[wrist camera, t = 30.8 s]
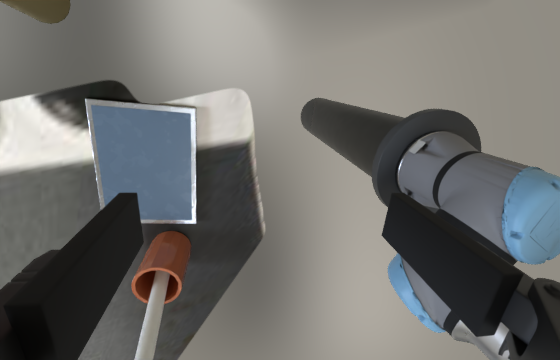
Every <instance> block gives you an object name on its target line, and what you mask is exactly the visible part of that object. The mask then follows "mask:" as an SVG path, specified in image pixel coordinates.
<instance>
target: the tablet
mask: <svg viewBox="0 0 560 360" xmlns="http://www.w3.org/2000/svg"><path fill="white" fill-rule="evenodd" d="M85 101H86V108H87V115H88V122H89V129H90V136H91V143H92V150H93V157H94V164H95V171H96V178H97V185H98V192H99V198H100V205H101V210H102V209H103V208H104V207H105V206H106V205H107V204H108V203H109V202H110V201H111V200H112V199H113V198H114V197H115V196H116V195H117V194H118V193H137V196H138V204H139V211H140V219H141V223H170V224H196V222H197V142H196V108H192V107H181V106H170V105H158V104H147V103H136V102H125V101H114V100H102V99H91V98H87V99H85Z"/></svg>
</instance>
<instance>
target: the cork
mask: <svg viewBox="0 0 560 360" xmlns="http://www.w3.org/2000/svg"><path fill="white" fill-rule="evenodd" d="M0 2H2V3H5V4H6V5H8V6H10V7H12V8H14V9H16V10H19V11H21V12H22V13H24V14H27V15H28V16H30V17H32V18H34V19H36V20H39V21H41V22H44V23H50V24H52V23H58V22H60V21H62V20H63V19H65V18H66V16H67V15H68V13H69V9H70V0H0Z"/></svg>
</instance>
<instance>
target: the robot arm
mask: <svg viewBox="0 0 560 360" xmlns="http://www.w3.org/2000/svg"><path fill="white" fill-rule="evenodd" d="M395 181H396V185H397V188H398V190H399V191H400V193H392V194H391V198H390V202H389V207H388V212H387V215H386V220H385V224H384V228H383V233H382V236H383V237H384V238H385V239H386V241H387V242H388V243H389V244H390V245H391V246H392V247H393V248H394V249H395V250H396V251H397V253H398V254H397V255H396V256H395V257H394V258H393V260H392V261H391V262H390V264H389V266H388V275H389V279H390V282H391V284H392V286H393V288H394V289H395V291H396V292H397V294H398V296H399V297H400V298H401V300H402V301H403V302H404V304H405V305H406V306H407V308H408V309H409V310H410V311H411V312H412V313H413V314H414V315H415V316H417V317H418V318H419V320H420V321H421V322H422V323H423V324H424V325H425V326H426V327H428V328H429V329H430V330H432V331H434V332H438V333H441V332H445V331H447V332H448V333H449V334H450V335H451V336H452V337H453V338H454V339H455V340H457V341H463V342H467V343H472V344H474V345H476V346H477V347H478V348H479V349H480V350H481V351H482V352H483V353H484V354H485V355H486V356H487V357H488V358H489V359H490V360H560V283H559V282H556V281H554V280H549V279H545V278H537V279H535V280H534V279H532V278H531V277H529V276H528V275H526V274H525V273H523V272H522V271H521V270H519V269H517V268H516V267H515V266H513V265H514V264H515V263H516V262H517V261H520V262H523V263H528V264H541V263H544V262H545V261H546V260H551V259H553V258H554V257H556V256H557V255H558V254H560V177H558V176H556V175H553V174H550V173H547V172H545V171H544V170H542V169H540V168H538V167H530V166H527V165H523V164H520V163H516V162H513V161H509V160H506V159H502V158H499V157H495V156H492V155H489V154H485V153H482V152H479V151H478V150H477V149H475V148H474V147H473V146H472V145H470V144H469V143H468V142H467V141H466V140H464V139H463V138H462V137H460V136H458V135H456V134H454V133H451V132H447V131H431V132H428V133H425V134H423V135H421V136H419V137H418V138H416V139H415V140H413V141H412V142H411V143H410V144H409V145H408V146H407V147H406V148H405V150H404V151H403V153H402V154H401V156H400V158H399V160H398V163H397V166H396V171H395ZM425 206H428V207H433V208H438V210H437V211H436V213H433V212H432V211H431V210H429V209H428V208H426V207H425ZM143 243H144V241H143V234H142V226H141V219H140V211H139V204H138V196H137V193H118V194H117V195H116V196H115V197H114V198H113V199H112V200H111V201H110V202H109V203H108V204H107V205H106V206H105V207H104V208H103V209H102V210H101V211H100V212H99V213H98V214H97V215H96V216H95V217H94V218H93V219H92V220H91V221H90V222H89V223H88V224H87V225H86V226H85V227H83V228H82V229H81V230H80V231H79V232H78V233H77V234H76V235H75V236H74V237H73V238H72V239H71V240H70V241H69V242H68V243H67V244H66V245H65V246H64V247H63V248H62V249H61V250H50V251H49V252H47V253H45V254H43V255H41V256H40V257H38V258H36V259H34V260H33V261H32V262H31V263H30V264H29V265H27V266H26V267H25V268H24V269H23V270H22V272H21V273H19V274H17V275H16V276H15V277H14V278H13V279H12V280H11V282H10V283H7V284H6V285H5V286H4V287H3V288H2V289H1V290H0V360H78V358H79V356H80V354H81V352H82V351H83V349H84V347H85V345H86V344H87V342H88V340H89V338H90V337H91V335H92V333H93V331H94V329H95V328H96V326H97V324H98V322H99V321H100V319H101V317H102V315H103V314H104V312H105V310H106V308H107V306H108V305H109V303H110V301H111V299H112V298H113V296H114V294H115V292H116V291H117V289H118V287H119V285H120V283H121V282H122V280H123V278H124V276H125V275H126V273H127V271H128V269H129V268H130V266H131V264H132V262H133V260H134V259H135V257H136V255H137V253H138V252H139V250H140V248H141V246H142V245H143Z"/></svg>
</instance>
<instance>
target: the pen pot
mask: <svg viewBox="0 0 560 360" xmlns="http://www.w3.org/2000/svg"><path fill="white" fill-rule="evenodd" d="M190 254H191V243H190V241H189V239H188V238H187V237H186V236H185V235H183V234H182V233H179V232H176V231H166V232H163V233H160V234H158V235H157V236H156V237H155V238H154V239H153V241H152V243H151V245H150V247H149V249H148V251H147V253H146V255H145V257H144V259H143V261H142V263H141V265H140V267H139V269H138V271H137V273H136V275H135V277H134V279H133V281H132V292H133V293H134V295H135V296H136V297H137V298H138V299H140V300H141V301H143V302H145V303H148V302H149V298H150V294H151V289H152V285H153V281H154V277H155V273H156V270H161V271H165V272H168V273H170V276H169V281H168V286H167V291H166V297H165V302H164V304H166V303H169V302H171V301H173V300H174V299H175V298H177V297H178V296H179V294H180V292H181V290H182V286H183V282H184V278H185V274H186V270H187V266H188V262H189V258H190Z"/></svg>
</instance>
